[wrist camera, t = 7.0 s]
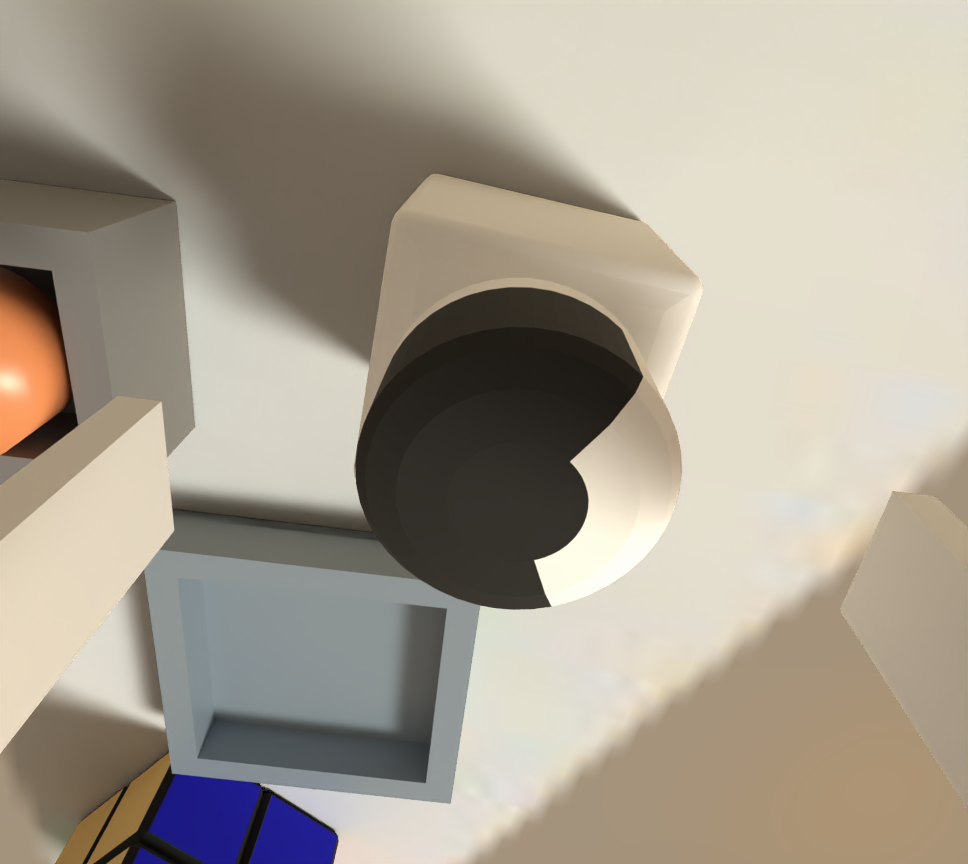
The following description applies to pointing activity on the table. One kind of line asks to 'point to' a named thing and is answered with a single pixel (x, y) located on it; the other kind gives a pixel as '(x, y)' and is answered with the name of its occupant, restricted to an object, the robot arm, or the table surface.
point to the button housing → (103, 301)
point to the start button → (29, 360)
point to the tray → (306, 659)
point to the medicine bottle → (521, 394)
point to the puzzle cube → (197, 825)
